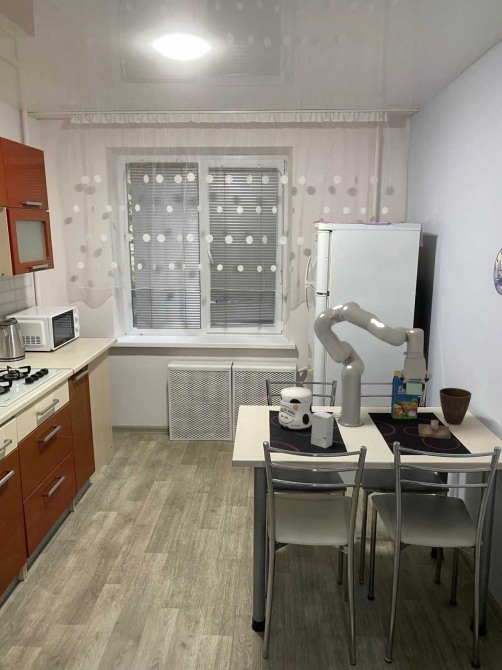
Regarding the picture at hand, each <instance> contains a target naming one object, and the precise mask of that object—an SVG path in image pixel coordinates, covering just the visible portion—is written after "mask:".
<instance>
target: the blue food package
mask: <svg viewBox="0 0 502 670" xmlns="http://www.w3.org/2000/svg"><path fill="white" fill-rule="evenodd" d="M400 371H401V370H394V373H393V378H392V381H391V383H392V384H391V405H390V406H391V407H390V416H391V417H392V418H393V420H394V419H398V420H402V419H403V420H411V419H412V420H414V419H415V420H416V419H418V406H419V404H418V403H419V395H412V394H406V391H405V389H404V383H403V382H402V381H401V380H400V378H399V377H398V376H397V373H399V372H400ZM401 376H402V377H403V378H404V376H403V373H402V374H401ZM407 380H419V379H407Z"/></svg>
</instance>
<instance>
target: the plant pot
mask: <svg viewBox="0 0 502 670" xmlns="http://www.w3.org/2000/svg"><path fill="white" fill-rule="evenodd" d="M471 399H472V393H471V391H469V390H466V389H463V388H457V387H446V388H441V389H439V400H440V407H441V411H442V415H443V418H444V421H445V423H446V424H448V425H452V426H460V425H462V423H463V421H464V419H465V417H466V414H467V412H468V408H469V405H470V403H471Z"/></svg>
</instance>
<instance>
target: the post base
mask: <svg viewBox="0 0 502 670" xmlns="http://www.w3.org/2000/svg"><path fill="white" fill-rule="evenodd" d="M450 431H451V430H450V426H447V425H439V420H438V419H431V420H430V424H427V423H426V424H424V423H418V436H419V437H425V438H426V437H428V438H436V439H447V440H448V439H450V440H451V439H452V435H451V432H450Z"/></svg>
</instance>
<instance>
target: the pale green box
mask: <svg viewBox="0 0 502 670" xmlns="http://www.w3.org/2000/svg"><path fill="white" fill-rule="evenodd" d="M406 394H412V395H418V396H422V395H423V392H422V380H420V379H418V380H407V381H406Z"/></svg>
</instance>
